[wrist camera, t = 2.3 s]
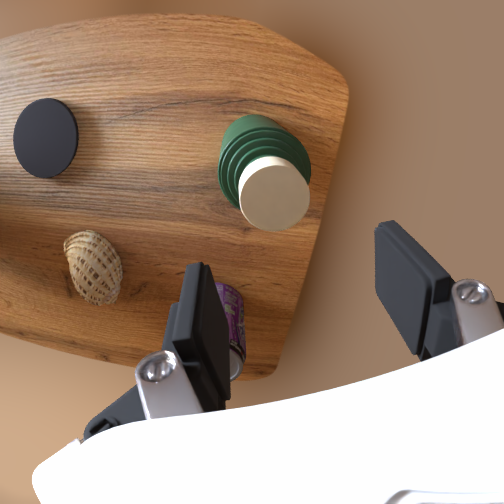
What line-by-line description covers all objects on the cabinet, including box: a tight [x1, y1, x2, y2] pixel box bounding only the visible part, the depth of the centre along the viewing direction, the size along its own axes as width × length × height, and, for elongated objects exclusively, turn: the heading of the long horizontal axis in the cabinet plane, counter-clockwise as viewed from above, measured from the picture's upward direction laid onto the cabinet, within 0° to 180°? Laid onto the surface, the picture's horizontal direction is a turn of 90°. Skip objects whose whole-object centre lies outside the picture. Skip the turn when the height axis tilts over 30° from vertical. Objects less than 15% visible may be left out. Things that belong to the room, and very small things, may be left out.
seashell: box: [63, 230, 123, 306], centre depth 38 cm, size 8×6×10 cm
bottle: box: [218, 115, 311, 211], centre depth 26 cm, size 7×7×18 cm
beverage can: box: [215, 283, 246, 382], centre depth 38 cm, size 7×7×12 cm
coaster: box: [13, 98, 79, 178], centre depth 31 cm, size 10×10×1 cm
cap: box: [239, 156, 310, 231], centre depth 19 cm, size 4×4×2 cm
